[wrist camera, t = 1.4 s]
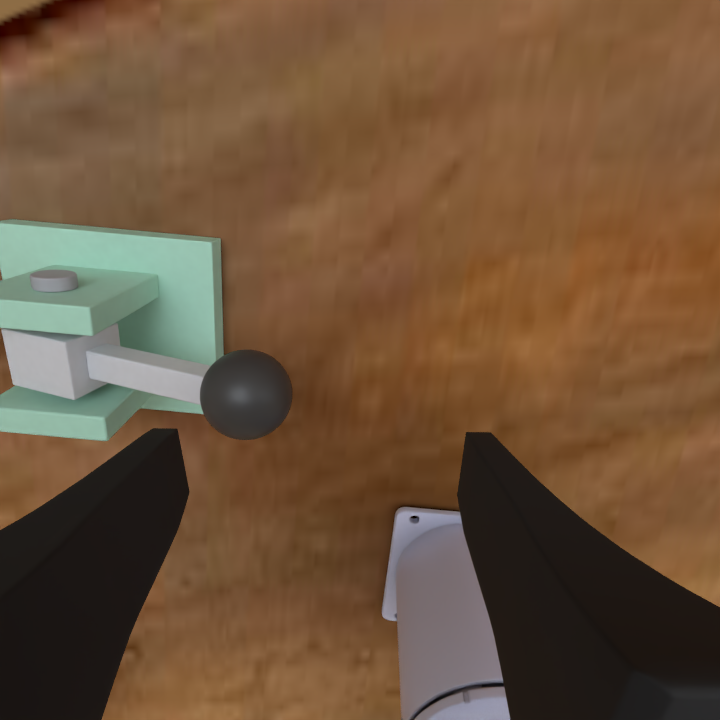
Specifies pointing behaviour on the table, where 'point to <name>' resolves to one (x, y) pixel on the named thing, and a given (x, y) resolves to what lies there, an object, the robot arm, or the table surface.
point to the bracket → (107, 312)
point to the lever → (155, 377)
